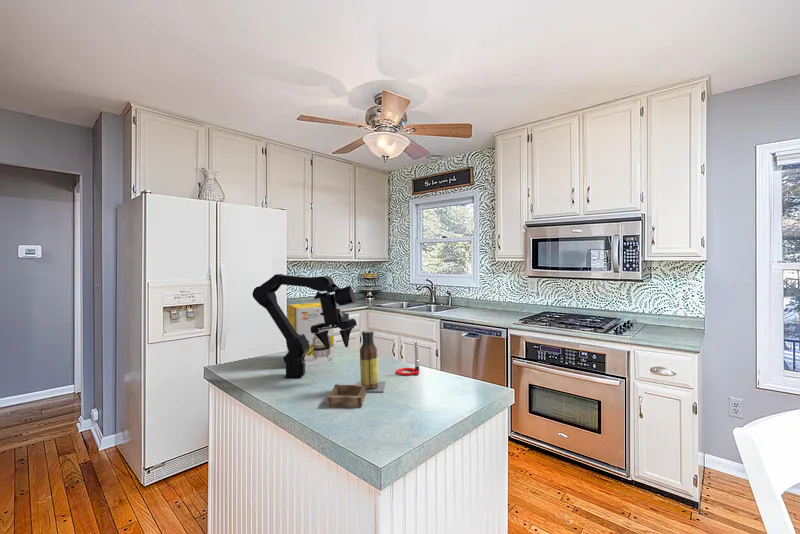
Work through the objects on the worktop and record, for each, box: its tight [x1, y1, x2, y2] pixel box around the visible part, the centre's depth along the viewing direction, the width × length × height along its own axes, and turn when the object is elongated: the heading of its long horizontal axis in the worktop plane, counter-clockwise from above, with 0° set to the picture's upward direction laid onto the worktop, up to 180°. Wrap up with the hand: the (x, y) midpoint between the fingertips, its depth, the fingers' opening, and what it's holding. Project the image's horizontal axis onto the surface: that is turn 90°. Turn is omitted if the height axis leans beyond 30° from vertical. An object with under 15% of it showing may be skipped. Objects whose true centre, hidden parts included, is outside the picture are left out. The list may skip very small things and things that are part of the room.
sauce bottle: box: [359, 329, 379, 389], centre depth 131 cm, size 6×6×20 cm
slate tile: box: [356, 380, 387, 394], centre depth 132 cm, size 10×10×1 cm
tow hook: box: [395, 340, 420, 377], centre depth 149 cm, size 8×13×9 cm
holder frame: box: [327, 384, 367, 408], centre depth 120 cm, size 10×11×3 cm
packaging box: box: [287, 302, 335, 368], centre depth 167 cm, size 16×16×25 cm
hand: (337, 348), depth 142 cm, fingers open, 9 cm apart
